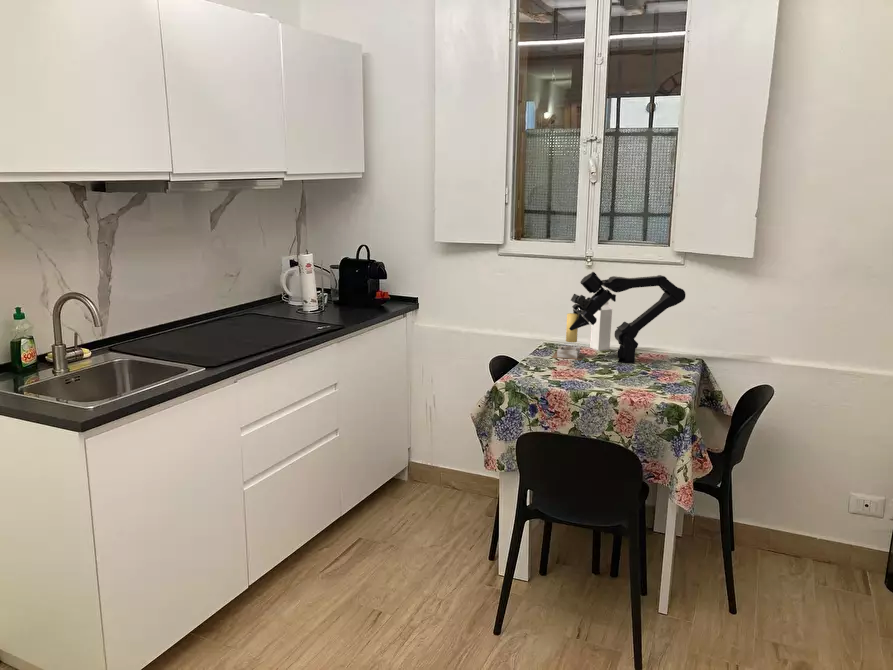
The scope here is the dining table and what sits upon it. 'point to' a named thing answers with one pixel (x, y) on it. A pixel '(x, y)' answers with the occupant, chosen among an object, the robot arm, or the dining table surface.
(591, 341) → the milk
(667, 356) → the dining table surface
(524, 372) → the dining table surface
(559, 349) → the stand
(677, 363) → the dining table surface
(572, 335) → the post
